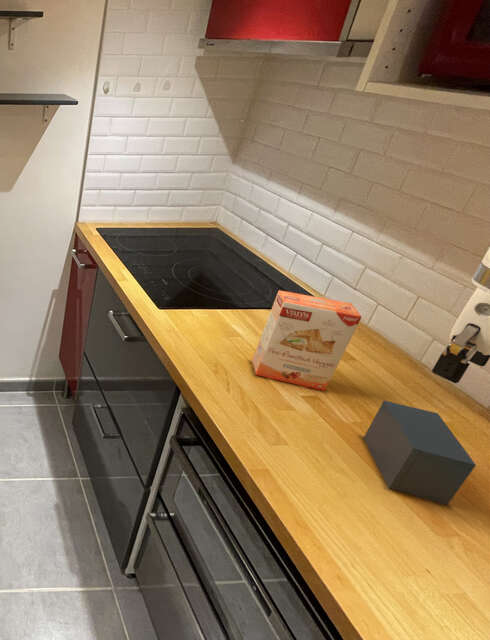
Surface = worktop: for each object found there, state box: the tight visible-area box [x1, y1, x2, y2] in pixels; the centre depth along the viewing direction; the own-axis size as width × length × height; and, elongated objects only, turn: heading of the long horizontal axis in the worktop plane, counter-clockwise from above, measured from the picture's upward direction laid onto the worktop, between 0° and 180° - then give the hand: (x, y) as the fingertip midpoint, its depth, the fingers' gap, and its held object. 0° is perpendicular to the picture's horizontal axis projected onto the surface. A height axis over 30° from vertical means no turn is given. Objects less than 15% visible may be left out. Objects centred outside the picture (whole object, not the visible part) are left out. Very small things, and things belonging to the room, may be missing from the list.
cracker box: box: [251, 290, 362, 392], centre depth 101 cm, size 14×6×21 cm, turn 68°
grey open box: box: [363, 399, 477, 506], centre depth 81 cm, size 8×12×10 cm, turn 157°
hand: (458, 369), depth 75 cm, fingers open, 9 cm apart
